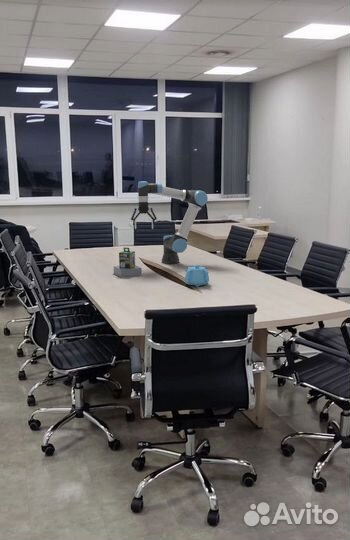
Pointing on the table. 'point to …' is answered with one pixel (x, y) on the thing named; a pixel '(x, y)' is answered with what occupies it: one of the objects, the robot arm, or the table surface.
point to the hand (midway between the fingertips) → (144, 228)
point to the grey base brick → (127, 271)
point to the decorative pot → (196, 276)
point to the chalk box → (126, 258)
